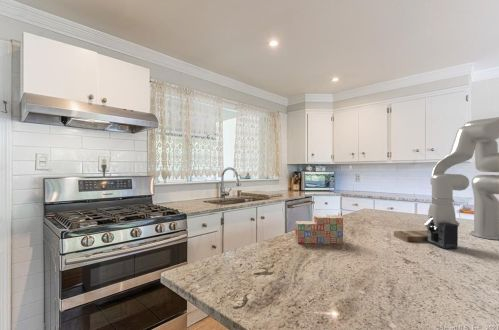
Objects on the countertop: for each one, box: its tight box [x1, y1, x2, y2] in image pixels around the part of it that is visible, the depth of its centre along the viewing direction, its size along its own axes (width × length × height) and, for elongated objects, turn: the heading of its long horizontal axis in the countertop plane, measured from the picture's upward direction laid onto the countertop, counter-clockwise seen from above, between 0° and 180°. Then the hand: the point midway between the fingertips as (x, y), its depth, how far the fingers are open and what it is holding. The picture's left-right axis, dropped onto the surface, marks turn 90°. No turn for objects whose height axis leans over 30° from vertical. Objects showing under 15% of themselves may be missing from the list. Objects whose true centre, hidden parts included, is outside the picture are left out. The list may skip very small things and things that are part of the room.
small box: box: [426, 223, 459, 250], centre depth 114 cm, size 11×6×10 cm, turn 1°
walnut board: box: [393, 230, 428, 243], centre depth 124 cm, size 20×10×3 cm, turn 94°
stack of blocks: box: [294, 214, 344, 245], centre depth 120 cm, size 21×6×12 cm, turn 90°
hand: (442, 240), depth 114 cm, fingers closed on small box, 6 cm apart
